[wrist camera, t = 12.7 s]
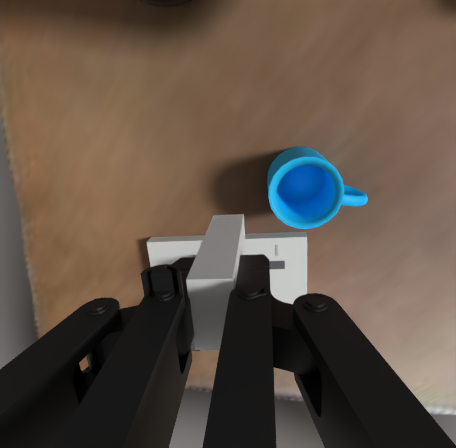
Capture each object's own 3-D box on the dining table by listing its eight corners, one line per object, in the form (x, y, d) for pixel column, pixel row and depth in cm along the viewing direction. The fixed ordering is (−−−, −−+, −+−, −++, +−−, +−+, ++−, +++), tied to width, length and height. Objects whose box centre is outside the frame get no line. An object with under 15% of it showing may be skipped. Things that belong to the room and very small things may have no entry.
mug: (261, 201, 47) (261, 220, 39) (275, 140, 44) (278, 149, 37) (348, 219, 47) (365, 242, 39) (368, 159, 44) (390, 172, 36)
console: (150, 237, 50) (146, 242, 48) (305, 231, 48) (307, 237, 46) (165, 329, 56) (162, 338, 54) (305, 329, 53) (307, 338, 51)
